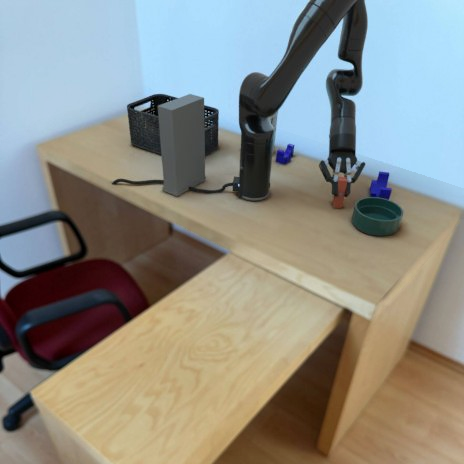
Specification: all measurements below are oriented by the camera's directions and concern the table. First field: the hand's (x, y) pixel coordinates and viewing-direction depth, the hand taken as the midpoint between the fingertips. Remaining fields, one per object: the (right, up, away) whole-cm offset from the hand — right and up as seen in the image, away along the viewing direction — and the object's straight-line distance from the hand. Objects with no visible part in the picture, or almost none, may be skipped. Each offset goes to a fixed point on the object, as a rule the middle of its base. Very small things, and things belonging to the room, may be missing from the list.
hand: (341, 196), depth 127 cm
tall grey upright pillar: (-46, +6, +10) cm, 48 cm away
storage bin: (-52, +27, +33) cm, 67 cm away
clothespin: (0, -2, +4) cm, 5 cm away
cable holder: (-13, +20, +27) cm, 36 cm away
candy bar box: (-22, +24, +31) cm, 46 cm away
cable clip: (+13, +1, +8) cm, 16 cm away
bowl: (+9, -9, -3) cm, 13 cm away
